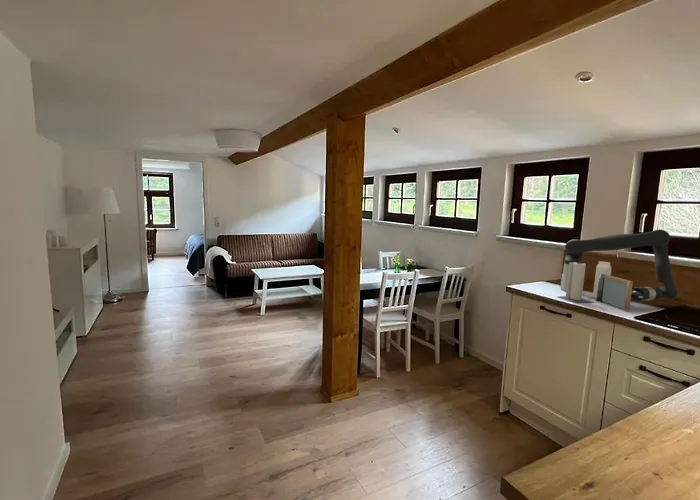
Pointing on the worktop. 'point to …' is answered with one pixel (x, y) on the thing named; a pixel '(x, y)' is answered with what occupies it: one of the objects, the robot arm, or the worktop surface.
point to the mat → (575, 300)
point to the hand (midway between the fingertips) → (618, 294)
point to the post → (600, 288)
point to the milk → (601, 269)
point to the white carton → (575, 280)
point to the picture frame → (617, 291)
